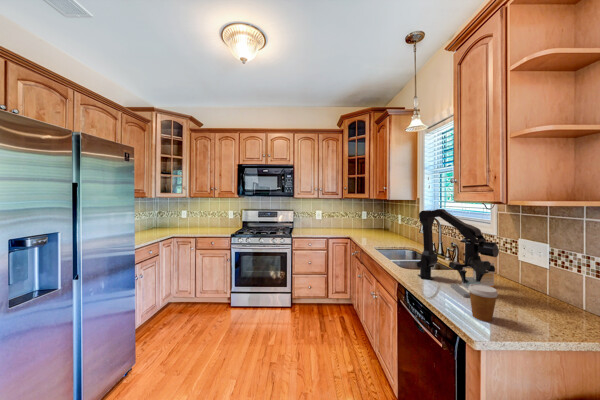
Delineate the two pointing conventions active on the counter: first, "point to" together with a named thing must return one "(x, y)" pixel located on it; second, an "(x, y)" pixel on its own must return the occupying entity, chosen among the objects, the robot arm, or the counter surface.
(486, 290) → the disposable coffee cup
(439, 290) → the counter surface
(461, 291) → the stand
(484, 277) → the supplement box
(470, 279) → the block
